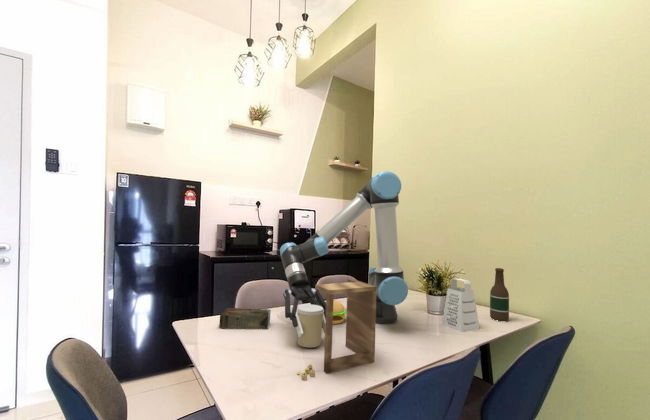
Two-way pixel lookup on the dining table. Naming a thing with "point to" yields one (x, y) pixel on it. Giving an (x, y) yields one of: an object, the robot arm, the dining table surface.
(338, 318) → the hamburger
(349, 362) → the shelf alcove
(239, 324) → the beverage carton
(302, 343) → the coffee cup
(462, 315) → the grater
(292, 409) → the dining table surface
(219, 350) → the dining table surface
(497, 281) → the beer bottle
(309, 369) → the dice set
